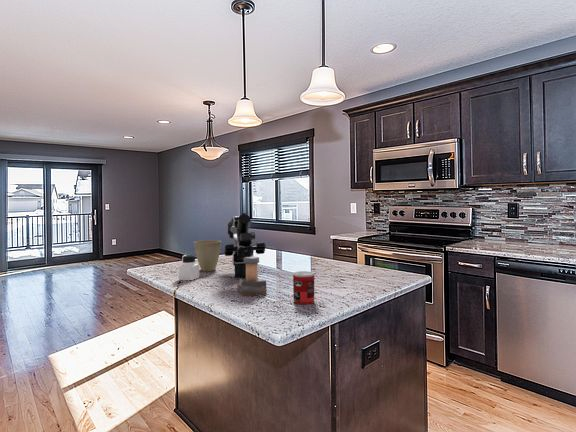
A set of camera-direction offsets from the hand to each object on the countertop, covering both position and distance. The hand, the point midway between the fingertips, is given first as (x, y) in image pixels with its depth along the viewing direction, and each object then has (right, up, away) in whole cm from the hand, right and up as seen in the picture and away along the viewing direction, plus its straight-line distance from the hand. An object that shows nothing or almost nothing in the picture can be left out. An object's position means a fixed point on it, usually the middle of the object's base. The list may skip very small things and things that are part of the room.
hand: (247, 264), depth 162 cm
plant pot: (-26, -9, +37) cm, 46 cm away
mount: (+3, -10, -8) cm, 14 cm away
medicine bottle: (-31, -10, +15) cm, 36 cm away
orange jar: (+3, -9, -10) cm, 14 cm away
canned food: (+24, -11, -26) cm, 37 cm away
